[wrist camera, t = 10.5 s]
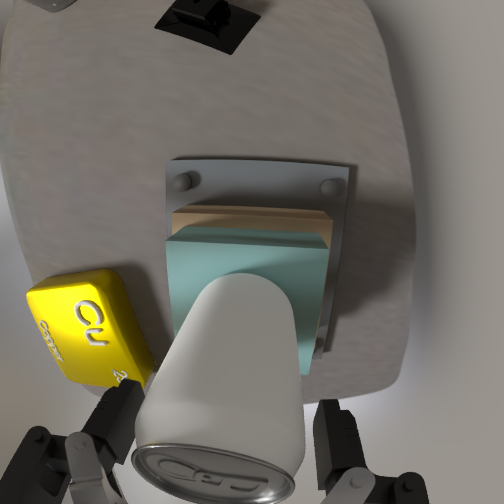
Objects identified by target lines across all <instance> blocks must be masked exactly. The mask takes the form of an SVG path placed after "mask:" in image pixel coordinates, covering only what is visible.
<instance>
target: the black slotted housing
mask: <svg viewBox="0 0 504 504" xmlns="http://www.w3.org/2000/svg"><path fill="white" fill-rule="evenodd" d="M260 18H261V16H259V15H257V14H255V13H252V12H250V11H247V10H244V9H242V8H239V7H236V6H234V5H231V4H228V1H225V0H176V1H175V2H174V3H173V4H172V5H171V7H170V8H169V9H168V10H167V11H166V13H165V14H164V15H163V16H162V18H161V19H160V20H159V21H158V23H157V24H156V25H155V27H154V28H155V29H159V30H162V31H166V32H169V33H172V34H175V35H179V36H182V37H185V38H187V39H190V40H193V41H196V42H199V43H201V44H204V45H207V46H209V47H212V48H214V49H217V50H219V51H222V52H224V53H226V54H229V55H232V54H233V52H234V51H235V50H236V48H237V47H238V46H239V44H240V43H241V42H242V40H243V39H244V38H245V36H246V35H247V34H248V33H249V31H250V30H251V29H252V28H253V26H254V25H255V24H256V23H257V21H258V20H259V19H260Z"/></svg>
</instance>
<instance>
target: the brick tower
mask: <svg viewBox="0 0 504 504" xmlns="http://www.w3.org/2000/svg"><path fill="white" fill-rule="evenodd" d="M348 177H349V168H348V167H340V166H330V165H320V164H308V163H295V162H279V161H258V160H170V161H166V218H167V240H166V257H167V270H168V282H169V293H170V303H171V312H172V321H173V329H174V336H175V338H176V336H177V334H178V332H179V330H180V328H181V326H182V325H183V323H184V321H185V319H186V317H187V315H188V313H189V312H190V310H191V308H192V306H193V304H194V303H195V301H196V299H197V297H198V296H199V294H200V293H201V291H202V290H203V289H204V288H205V287H206V286H207V285H208V284H209V283H211V282H212V281H214V280H215V279H217V278H219V277H222V276H225V275H228V274H234V273H248V274H254V275H258V276H261V277H263V278H266V279H268V280H269V281H271V282H273V283H274V284H276V285H277V286H278V287H279V288H280V289H281V290H282V291H283V292H284V293H285V295H286V296H287V298H288V299H289V301H290V304H291V306H292V310H293V315H294V322H295V330H296V338H297V347H298V356H299V366H300V375H308V373H309V368H310V364H311V359H322V354H323V350H324V345H325V341H326V336H327V331H328V326H329V321H330V316H331V310H332V305H333V299H334V293H335V287H336V281H337V275H338V268H339V261H340V254H341V247H342V239H343V230H344V222H345V212H346V202H347V190H348Z"/></svg>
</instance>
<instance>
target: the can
mask: <svg viewBox="0 0 504 504" xmlns="http://www.w3.org/2000/svg"><path fill="white" fill-rule="evenodd" d="M135 438H136V445H137V449H135V450H134V452H133V453H132V456H131V462H132V465H133V467H134V468H135V470H136V471H137V472H138V473H139V474H140V475H141V476H142V477H143V478H144V479H145V480H146V481H148V482H149V483H150V484H152V485H154V486H155V487H157V488H159V489H160V490H162V491H164V492H166V493H168V494H171V495H173V496H175V497H178V498H180V499H183V500H186V501H189V502H193V503H197V504H276V503H279V502H281V501H283V500H285V499H287V498H288V497H289V496H291V494H292V493H293V492H294V490H295V482H294V480H293V478H294V476H295V474H296V473H297V471H298V469H299V467H300V465H301V463H302V461H303V459H304V455H305V425H304V410H303V398H302V386H301V376H300V366H299V356H298V347H297V338H296V330H295V322H294V315H293V310H292V306H291V304H290V301H289V299H288V298H287V296H286V295H285V293H284V292H283V291H282V290H281V289H280V288H279V287H278V286H277V285H276V284H274V283H273V282H271V281H269V280H268V279H266V278H263V277H261V276H258V275H254V274H248V273H234V274H228V275H225V276H222V277H219V278H217V279H215V280H214V281H212V282H211V283H209V284H208V285H207V286H206V287H205V288H204V289H203V290H202V291H201V293H200V294H199V296H198V297H197V299H196V301H195V303H194V304H193V306H192V308H191V310H190V312H189V313H188V315H187V317H186V319H185V321H184V323H183V325H182V326H181V328H180V330H179V332H178V334H177V336H176V338H175V340H174V342H173V343H172V345H171V347H170V349H169V351H168V353H167V355H166V357H165V359H164V361H163V363H162V365H161V367H160V369H159V371H158V373H157V375H156V377H155V379H154V380H153V382H152V384H151V386H150V389H149V391H148V393H147V395H146V397H145V399H144V401H143V403H142V405H141V407H140V410H139V412H138V414H137V417H136V421H135Z"/></svg>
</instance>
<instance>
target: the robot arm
mask: <svg viewBox="0 0 504 504" xmlns="http://www.w3.org/2000/svg"><path fill="white" fill-rule="evenodd" d="M24 1H26V2H28V3H31V4H33V5H35V6H38V7H40V8H42V9H44V10H46V11H49V12H57V11H60V10H62V9H64V8H65V7H67V6H68V5H70V4H71V3H73V2H74V1H75V0H24ZM144 399H145V395H144V392H143V389H142V386H141V383H140V382H139V381H136V380H131V379H127V378H124V379H122V381H121V382H120V384H119V386H118V387H116V386H112V387H111V388H110V389H108V390H107V391H106V392H105V393H104V395H103V396H102V398H101V399H100V401H99V403H98V404H97V407H96V408H95V409H94V411H93V413H92V414H91V416H90V418H89V419H88V421H87V422H86V424H85V426H84V428H83V429H82V430H81V431H80V432H74V433H72V434H70V435H69V436H68V437H67V436H58V435H52V434H50V432H49V431H48V430H47V429H46V428H45V427H42V426H35V427H32V428H31V429H30V430H29V431H28V432H27V434H26V435H25V437H24V439H23V440H22V442H21V444H20V446H19V448H18V449H17V451H16V453H15V454H14V456H13V458H12V460H11V461H10V463H9V465H8V467H7V469H6V471H5V472H4V474H3V477H2V478H1V480H0V504H61V503H62V500H63V498H64V495H65V493H66V490H67V488H68V485H69V488H70V493H71V496H72V500H73V503H74V504H128V503H127V501H126V499H125V497H124V495H123V492H122V490H121V487H120V485H119V482H118V480H117V477H116V474H115V472H114V469H113V466H114V464H115V462H116V463H119V464H121V465H123V464H124V462H125V459H126V457H127V455H128V452H129V450H130V448H131V445H132V443H133V441H134V439H135V421H136V417H137V414H138V412H139V410H140V407H141V405H142V403H143V401H144ZM313 437H314V447H315V457H316V468H317V480H318V490H326V498H325V499H324V500H323V501H322V502H321V504H429V499H428V495H427V490H426V486H425V482H424V479H423V478H422V476H421V475H419V474H417V473H415V472H406V473H403V474H402V475H400V476H399V477H398V478H397V477H384V476H378V475H375V474H374V473H372V472H371V471H370V470H369V469H368V468H367V466H366V463H365V458H364V454H363V450H362V445H361V441H360V437H359V433H358V429H357V424H356V420H355V417H354V416H353V415H352V414H351V412H350V411H349V410H340V406H339V402H338V400H337V399H325V400H320V401H319V405H318V408H317V411H316V415H315V417H314V421H313ZM71 478H72V483H70V481H71ZM69 483H70V484H69Z"/></svg>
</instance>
